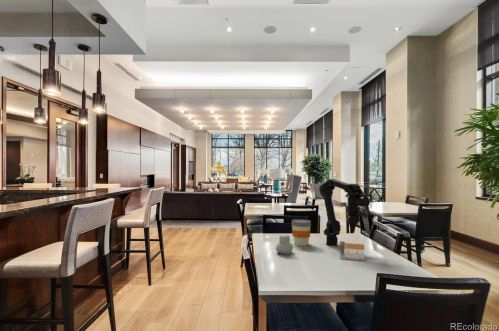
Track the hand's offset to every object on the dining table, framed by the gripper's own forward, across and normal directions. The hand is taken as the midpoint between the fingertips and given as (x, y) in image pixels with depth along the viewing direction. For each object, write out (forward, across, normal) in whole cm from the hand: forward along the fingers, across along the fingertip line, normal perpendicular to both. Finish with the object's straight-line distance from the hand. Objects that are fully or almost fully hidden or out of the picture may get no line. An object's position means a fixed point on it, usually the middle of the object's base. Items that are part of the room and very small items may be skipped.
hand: (352, 231), depth 166 cm
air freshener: (+12, -14, +38) cm, 42 cm away
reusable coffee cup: (+12, +10, +31) cm, 35 cm away
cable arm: (+9, -6, +1) cm, 11 cm away
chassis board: (+12, -6, +1) cm, 14 cm away
